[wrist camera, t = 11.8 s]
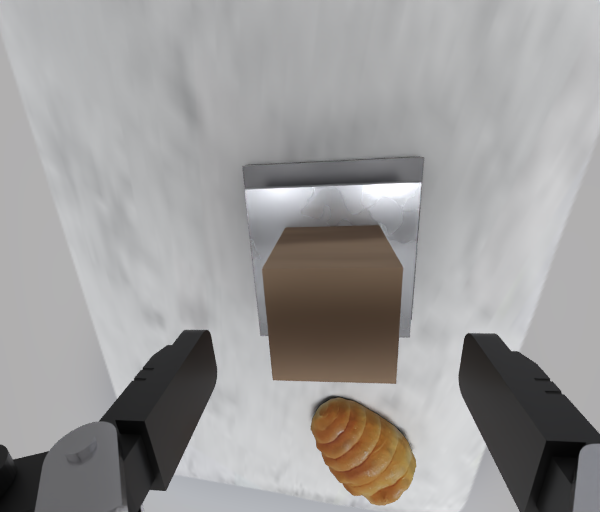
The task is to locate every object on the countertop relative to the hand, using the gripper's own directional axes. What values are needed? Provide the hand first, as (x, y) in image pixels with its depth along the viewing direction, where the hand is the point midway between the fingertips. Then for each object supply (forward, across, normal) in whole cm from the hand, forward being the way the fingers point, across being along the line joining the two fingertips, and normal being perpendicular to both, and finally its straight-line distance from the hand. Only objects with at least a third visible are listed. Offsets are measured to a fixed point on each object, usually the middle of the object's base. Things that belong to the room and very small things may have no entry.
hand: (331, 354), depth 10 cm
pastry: (+13, -2, +19) cm, 23 cm away
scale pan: (+10, 0, +1) cm, 10 cm away
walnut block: (+8, 0, 0) cm, 8 cm away
